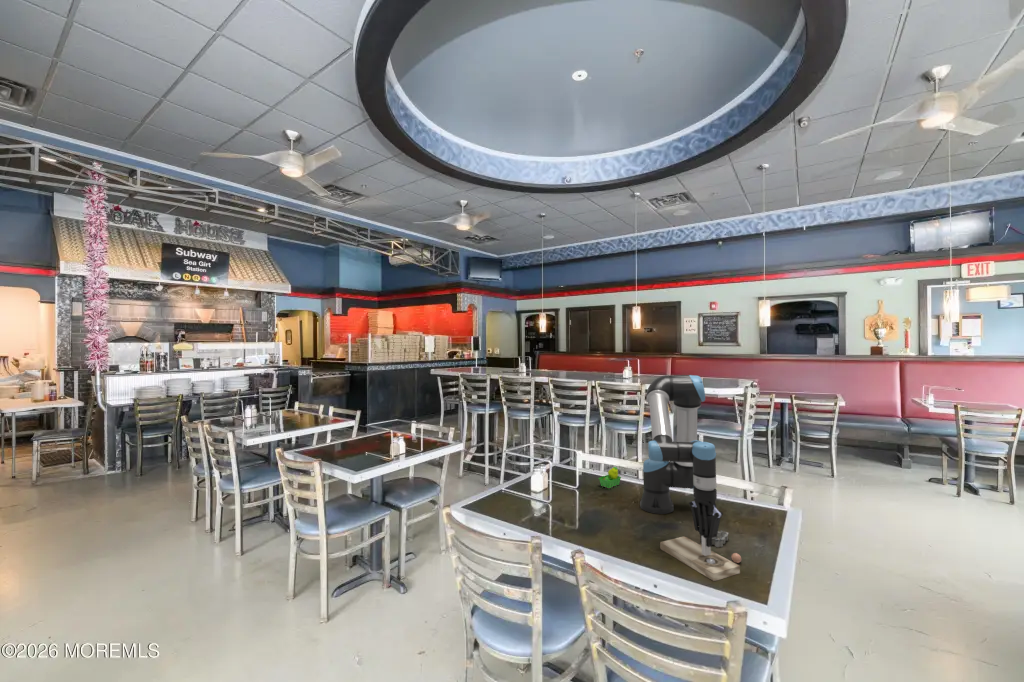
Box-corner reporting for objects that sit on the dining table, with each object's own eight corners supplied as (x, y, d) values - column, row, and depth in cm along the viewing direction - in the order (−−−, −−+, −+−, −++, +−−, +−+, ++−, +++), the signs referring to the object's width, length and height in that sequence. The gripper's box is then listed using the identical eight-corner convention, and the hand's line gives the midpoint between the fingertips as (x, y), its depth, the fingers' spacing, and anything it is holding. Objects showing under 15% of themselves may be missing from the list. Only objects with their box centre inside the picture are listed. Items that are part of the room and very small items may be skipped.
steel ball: (713, 555, 151) (719, 564, 148) (709, 560, 152) (715, 569, 150) (706, 557, 149) (712, 566, 147) (702, 562, 151) (708, 571, 149)
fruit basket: (610, 482, 244) (610, 462, 244) (623, 486, 237) (623, 465, 237) (598, 487, 236) (597, 466, 236) (611, 491, 230) (610, 470, 230)
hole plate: (684, 542, 169) (684, 536, 169) (740, 573, 146) (739, 565, 146) (660, 548, 164) (660, 542, 164) (713, 581, 141) (713, 573, 141)
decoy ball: (735, 559, 155) (735, 550, 155) (743, 563, 152) (743, 554, 152) (729, 561, 154) (729, 552, 154) (737, 565, 151) (736, 556, 151)
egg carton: (711, 534, 176) (710, 524, 176) (730, 540, 171) (730, 529, 171) (700, 543, 169) (700, 532, 169) (721, 549, 163) (720, 538, 164)
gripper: (682, 483, 156) (684, 548, 156) (711, 494, 144) (713, 565, 144) (698, 480, 159) (699, 544, 159) (728, 491, 147) (729, 560, 147)
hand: (706, 554), depth 151 cm, fingers closed
